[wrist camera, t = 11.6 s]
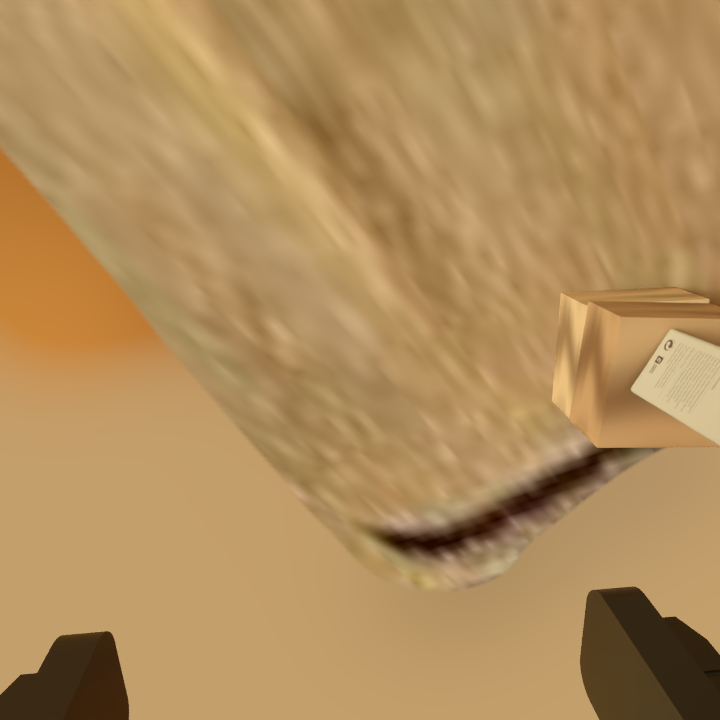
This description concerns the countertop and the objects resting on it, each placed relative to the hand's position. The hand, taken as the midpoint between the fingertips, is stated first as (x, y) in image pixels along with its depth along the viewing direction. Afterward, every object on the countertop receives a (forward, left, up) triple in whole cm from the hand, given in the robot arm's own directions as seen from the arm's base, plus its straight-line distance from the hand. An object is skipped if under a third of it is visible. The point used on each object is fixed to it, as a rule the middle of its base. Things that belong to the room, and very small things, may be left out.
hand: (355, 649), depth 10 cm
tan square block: (+5, +20, -26) cm, 33 cm away
